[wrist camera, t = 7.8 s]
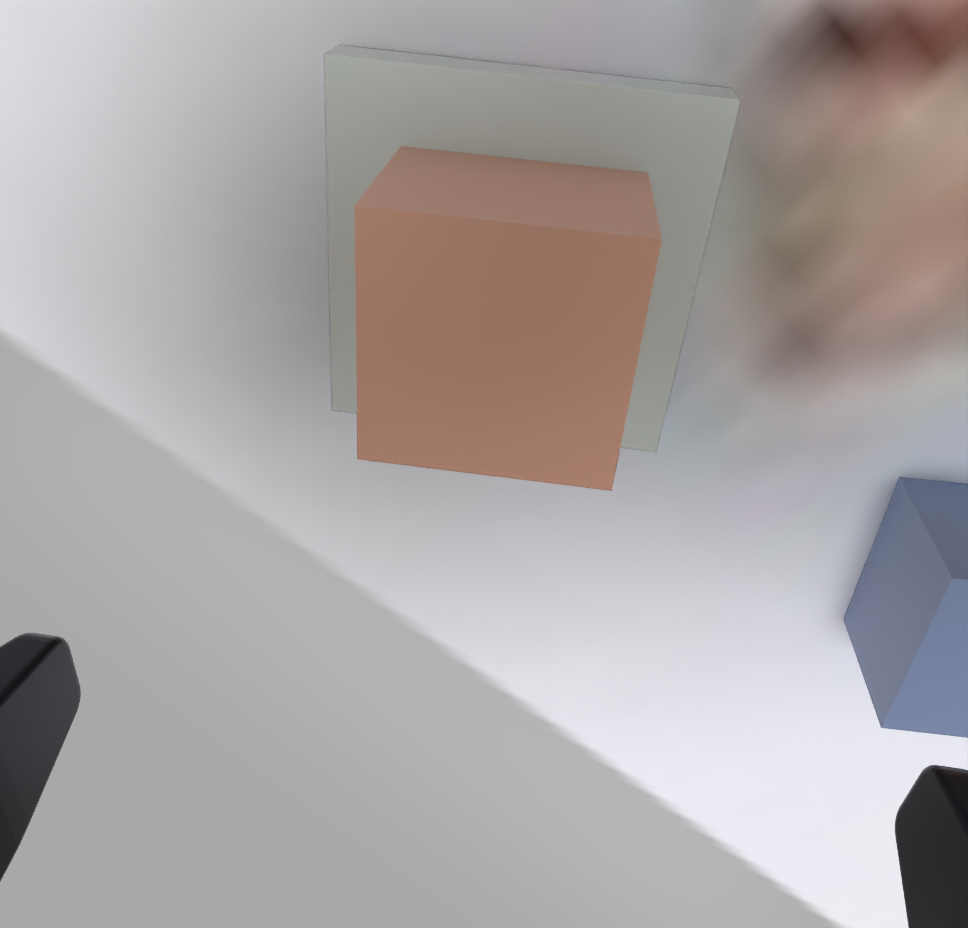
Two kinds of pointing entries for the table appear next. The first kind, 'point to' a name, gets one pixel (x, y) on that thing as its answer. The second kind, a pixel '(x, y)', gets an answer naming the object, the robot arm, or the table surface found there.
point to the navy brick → (916, 610)
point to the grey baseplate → (533, 136)
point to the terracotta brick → (501, 314)
